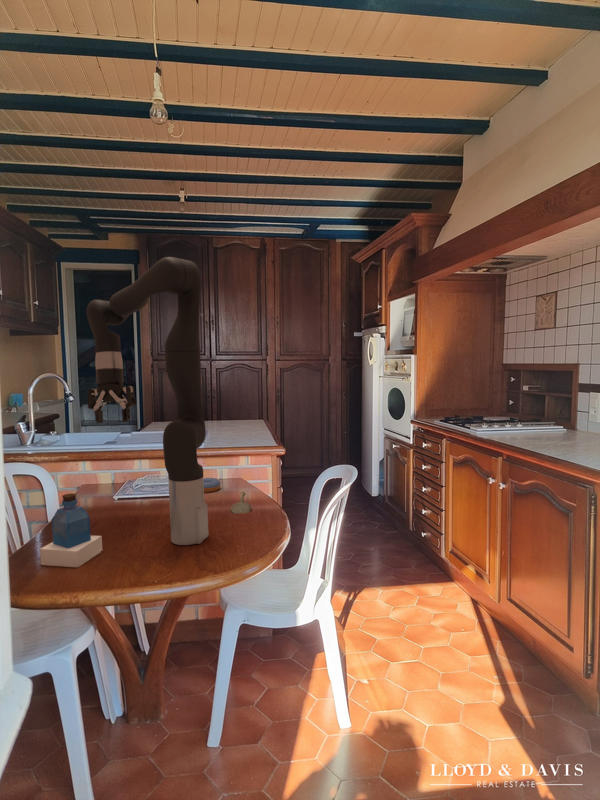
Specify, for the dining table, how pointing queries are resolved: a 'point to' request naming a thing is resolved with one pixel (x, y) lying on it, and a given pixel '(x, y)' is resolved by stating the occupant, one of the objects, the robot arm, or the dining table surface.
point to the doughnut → (211, 485)
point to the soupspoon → (241, 506)
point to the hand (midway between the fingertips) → (112, 422)
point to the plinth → (71, 553)
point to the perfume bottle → (70, 523)
